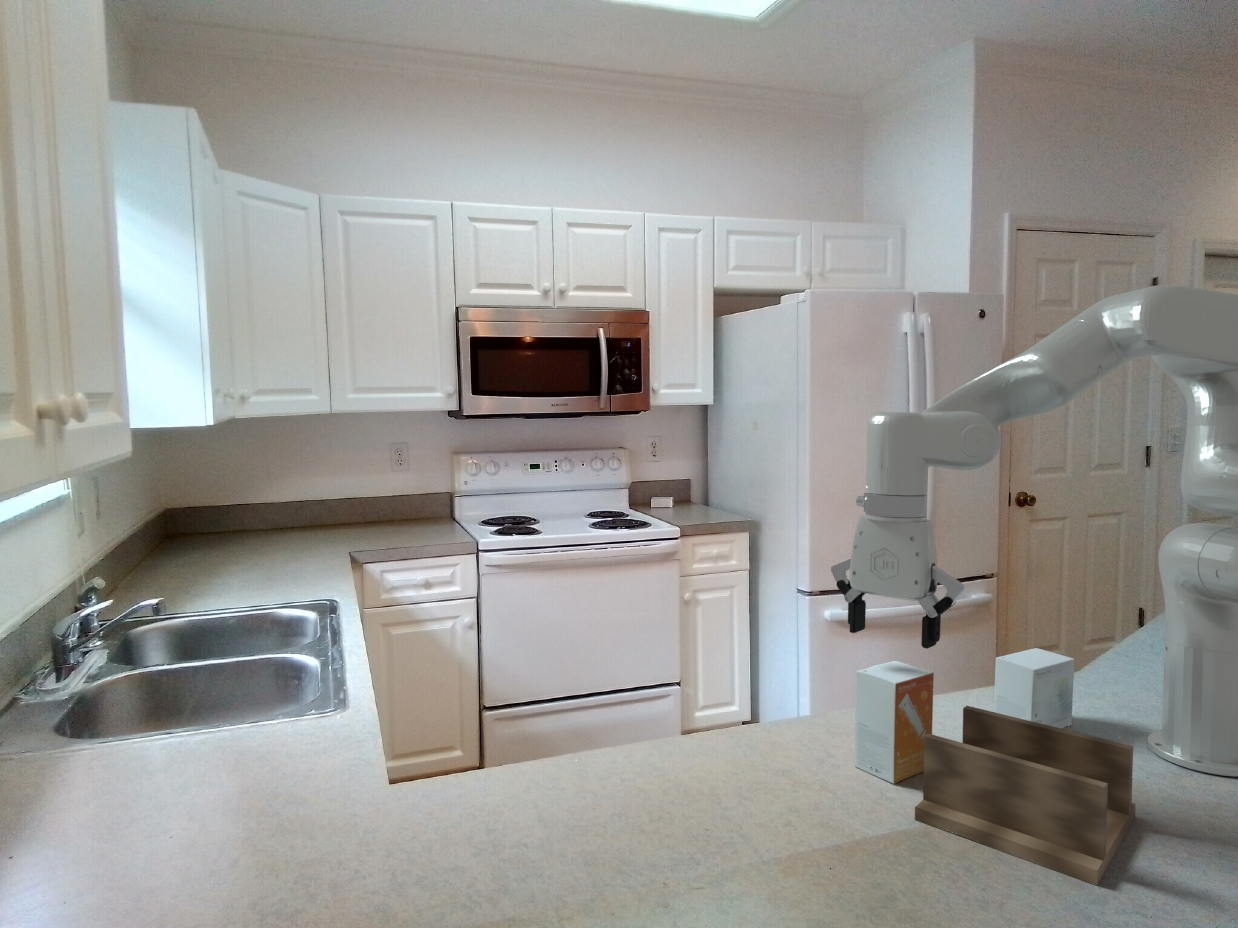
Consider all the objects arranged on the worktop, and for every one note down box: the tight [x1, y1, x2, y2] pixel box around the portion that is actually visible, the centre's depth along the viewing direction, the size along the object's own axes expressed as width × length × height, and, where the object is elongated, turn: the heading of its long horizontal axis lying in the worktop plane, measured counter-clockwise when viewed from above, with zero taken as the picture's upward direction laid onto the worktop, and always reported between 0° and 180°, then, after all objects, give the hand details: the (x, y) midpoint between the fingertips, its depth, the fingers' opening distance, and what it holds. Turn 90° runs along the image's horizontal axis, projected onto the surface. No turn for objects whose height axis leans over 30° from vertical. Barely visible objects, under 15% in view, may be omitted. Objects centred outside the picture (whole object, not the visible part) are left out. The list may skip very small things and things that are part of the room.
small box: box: [854, 660, 935, 785], centre depth 99 cm, size 8×6×13 cm
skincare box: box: [992, 647, 1075, 729], centre depth 113 cm, size 10×6×10 cm, turn 120°
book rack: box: [914, 705, 1137, 886], centre depth 86 cm, size 18×18×9 cm
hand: (892, 638), depth 99 cm, fingers open, 9 cm apart
